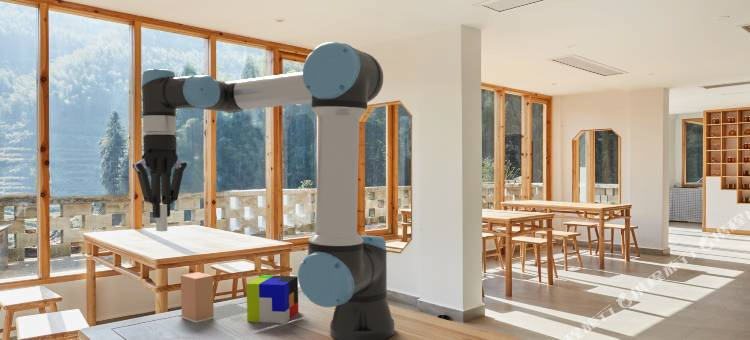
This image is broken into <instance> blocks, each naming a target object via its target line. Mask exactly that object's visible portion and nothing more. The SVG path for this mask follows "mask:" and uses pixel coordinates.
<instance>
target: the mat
mask: <svg viewBox="0 0 750 340" xmlns="http://www.w3.org/2000/svg"><path fill="white" fill-rule="evenodd" d="M213 309H214V318H213V319H209V320H205V321H201V322H197V323H196V324H198V325H203V324H207V323H212V322H214V321H219V320H223V319H226V318H231V317H234V316H239V315H241V314H245V313H246V314H247V307H244V306H240V305H237V304H233V303H228V304H223V305H220V306H215V307H213ZM177 317H179V318H182V314H181V315H178V316H177ZM182 319H183V318H182ZM188 321H190V320H188ZM190 322H192V323H194V322H193V321H190Z"/></svg>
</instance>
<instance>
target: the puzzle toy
mask: <svg viewBox="0 0 750 340" xmlns="http://www.w3.org/2000/svg"><path fill="white" fill-rule="evenodd" d="M246 308H247V312H246V320H247V322H255V323H256V322H258V323H276V324H277V325H278V326H282V325H283V326H285V325H286V324H288V323H289V322H291V318H293V317H294V316H295V315H296V314H298V313H299V281H298V275H266V274H263V275H260V276H258V277H256V278H254V279H252V280H250V281H249V282H247V283H246Z"/></svg>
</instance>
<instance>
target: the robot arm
mask: <svg viewBox="0 0 750 340" xmlns="http://www.w3.org/2000/svg"><path fill="white" fill-rule="evenodd" d="M141 78H142V80H141V82H142V83H141V93H142V97H141V98H142V131H143V133H145V134H144V135H143V137H142V139H143V141H142V142H143V143H142V145H143V146H142V147H143V154H142V157H141V159H140V160H139V161H137V162H133V163H132V168H133V169H134V170H135V172H136V174H137V177H138V182H139V186H140V189H141V193H142V196H143V201H144V202H145V203H148V204H149V203H150V204H151V206H152V217H153V218H154V219H155V228H156V229H155V230H156V232H160V233H161V232H167V231H168V217H169V218H170V216H171V205H172V204H173V202H175V201H177V200H178V199H179V194H180V189H181V185H182V180H183V173H184V172H185V169H186V167H187V165H188V164H187V162H186V161H185V162H183V161H182V160H181V159H179V157H178V156H179V155H178V153H177V135H176V134H175V133H177V114H176V113H177V111H176V110H178V109H197V110H206V111H217V112H218V111H219V112H224V113H230V114H232V113H233V114H234V113H241V112H244V111H245V110H254V109H262V108H273V107H274V108H275V107H283V106H293V105H301V104H303V105H305V104H311V110H312V112H313V113H314V114H315V115H316V116H317V118H318V130H317V131H318V133H317V135H318V136H317V170H316V171H317V173H316V178H317V179H316V214H315V216H316V217H315V231H314V233H313V234H312V235H311V236H309V237H308V240H307V242H308V243H307V244H308V246H307V247H308V248H307V255H306V257H305V258H304V259H303V260H302V262H301V263H300V265H299V267H298V271H297V276H298V286H299V288H300V289H301V292H302V294H303V295H304V296H306V298H308V300H309V301H310V302H311V303H313V304H315V305H316V306H319V307H323V308H334V311H333V316H332V320H331V321H330V326H329V328H330V329H329V331H330V332H329V333H330V336H331V337H332V338H333V339H336V340H387V339H389V338H391V337H392V336H394V334H395V330H396V329H395V325H396V324H395V321H394V320H395V319H393V318H392V314H391V310H390V309H391V308H390V307H389V303H388V298H387V297H388V296H387V295H388V294H387V284H388V283H387V282H388V281H387V278H388V277H387V275H388V274H387V272H388V271H387V253H388V250H387V246H386V245H387V244H386V239H385V238H384V237H382V236H379V235H365V234H364V235H363V234H362V235H360V234H359V233H358V230H357V229H358V228H357V227H358V226H357V225H358V195H359V193H358V190H359V189H358V188H359V186H358V184H359V156H360V155H359V154H360V153H359V152H360V148H359V147H360V120H361V118H362V117H363V115H365V114H366V113H367V111H368V103H369V102H371V101H372V100H374V99H375V98H376V97H377V96H378V95H379V93H380V92H381V90H382V88H383V84H384V72H383V69H382V66H381V65H380V63H379V61H378V60H377V59H376V58H375V57H374V56H372V55H371V54H370V53H367V52H365V51H362V50H359V49H356V48H355V47H353V46H351V45H349V44H347V43H341V42H339V41H329V42H325V43H324V42H323V43H322V44H320V45H317V46H316V47H315V48H314V49H313V50H312V51H311V52H310V53H309V54H308V56H307V57H306V59H305V61H304V63H303V67H302V71H298V72H294V73H293V72H292V73H285V74H277V75H276V74H275V75H270V76H260V77H254V78H246V79H239V80H231V81H222V80H217V79H215V78H214V77H213V76H211V75H209V74H208V75H207V74H205V75H204V74H202V75H201V74H194V75H188V76H185V75H184V76H177V77H176V73H175V72H174V71H173V70H169V69H165V68H164V69H162V68H151V69H146V70H144V71H143V72H142V77H141ZM173 167H174V170H173V174H172V169H173ZM147 168H148V170H149V175H150V180H149V176H148V172H147V170H146V169H147ZM171 176H172V177H171ZM171 178H172V179H171Z"/></svg>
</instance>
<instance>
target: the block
mask: <svg viewBox="0 0 750 340" xmlns="http://www.w3.org/2000/svg"><path fill="white" fill-rule="evenodd" d="M213 276H214V275H212V274H207V273H203V272H201V271H200V272H199V271H196V272H191V273H186V274H180V298H181V299H180V300H181V301H180V302H181V303H180V304H181V305H180V306H181V315H182V319H185V320H187V321H189V320H190V322H192V321H193V322H192V323H195V324H198V323H197V322H201V321H205V320H209V319H213V318H214V309H213V308H214V277H213Z"/></svg>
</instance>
